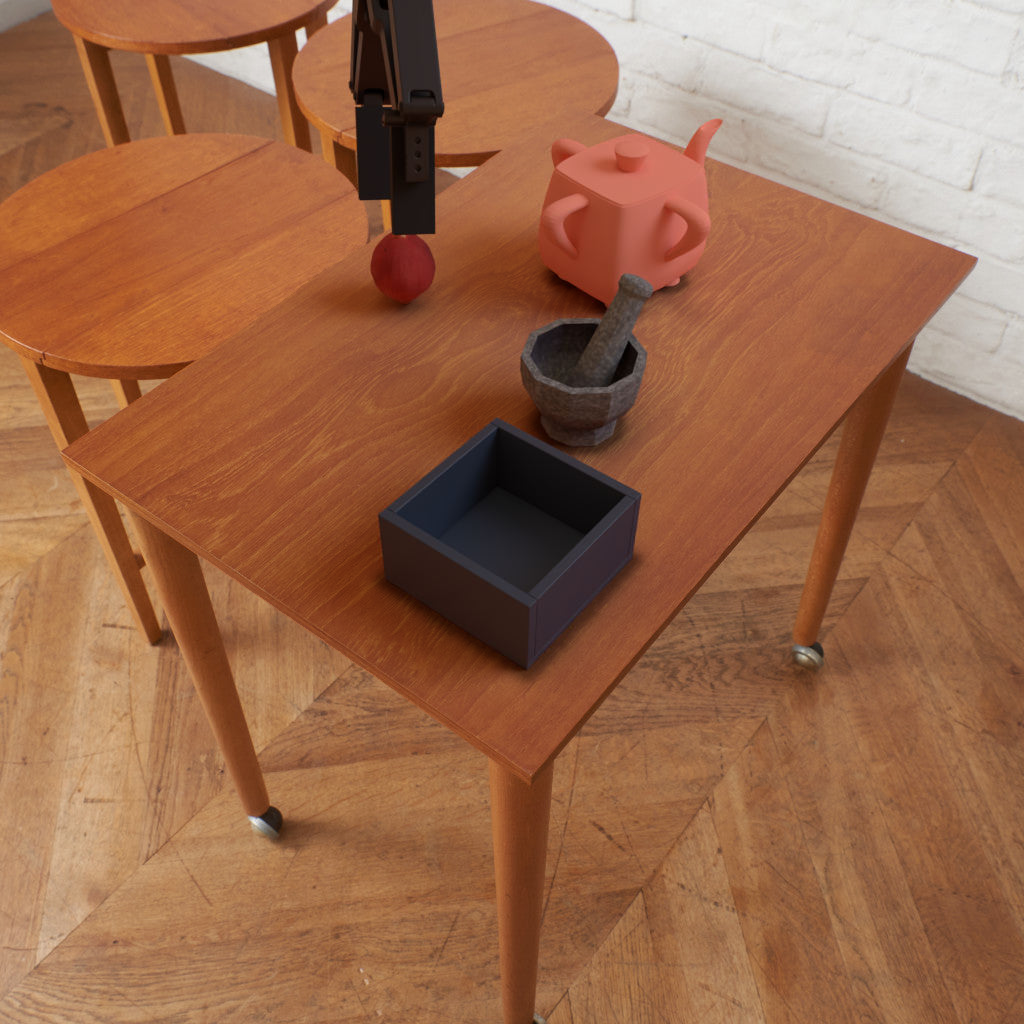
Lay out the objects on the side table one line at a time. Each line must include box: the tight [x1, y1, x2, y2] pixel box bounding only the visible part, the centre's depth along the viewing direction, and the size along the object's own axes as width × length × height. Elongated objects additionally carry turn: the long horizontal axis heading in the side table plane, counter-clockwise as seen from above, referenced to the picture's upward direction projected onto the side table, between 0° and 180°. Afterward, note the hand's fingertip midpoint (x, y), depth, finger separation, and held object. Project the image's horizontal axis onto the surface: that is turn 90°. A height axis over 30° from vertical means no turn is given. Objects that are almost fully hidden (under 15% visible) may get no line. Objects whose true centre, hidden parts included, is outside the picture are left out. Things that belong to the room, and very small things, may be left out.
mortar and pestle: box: [519, 273, 653, 448], centre depth 82 cm, size 11×9×12 cm
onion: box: [369, 231, 437, 305], centre depth 94 cm, size 6×6×8 cm
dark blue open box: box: [377, 416, 643, 671], centre depth 72 cm, size 13×13×7 cm
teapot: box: [537, 118, 724, 309], centre depth 96 cm, size 17×16×13 cm
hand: (393, 215), depth 73 cm, fingers open, 13 cm apart
